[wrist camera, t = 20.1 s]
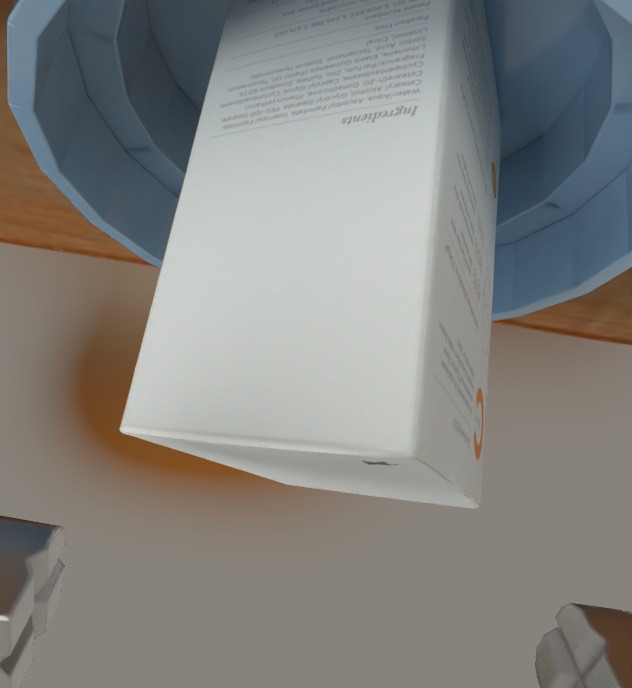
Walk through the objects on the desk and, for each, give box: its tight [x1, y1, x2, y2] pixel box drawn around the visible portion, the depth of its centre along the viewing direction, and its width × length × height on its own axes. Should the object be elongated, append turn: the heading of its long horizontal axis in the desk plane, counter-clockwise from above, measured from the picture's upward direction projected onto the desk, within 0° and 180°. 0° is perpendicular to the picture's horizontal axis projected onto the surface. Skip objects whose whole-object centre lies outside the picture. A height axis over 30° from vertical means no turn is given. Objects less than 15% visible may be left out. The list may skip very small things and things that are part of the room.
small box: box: [120, 0, 502, 508], centre depth 15 cm, size 8×6×13 cm
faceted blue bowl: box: [7, 0, 632, 321], centre depth 17 cm, size 17×17×6 cm
